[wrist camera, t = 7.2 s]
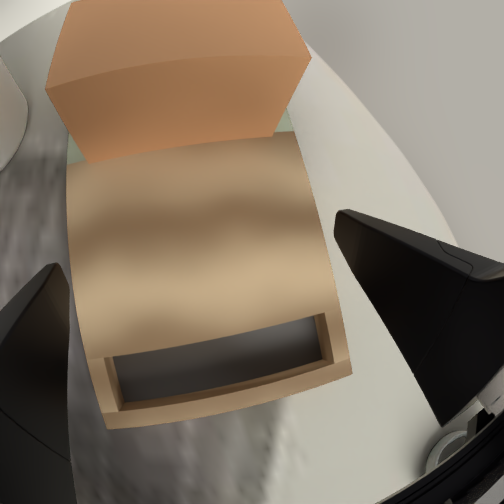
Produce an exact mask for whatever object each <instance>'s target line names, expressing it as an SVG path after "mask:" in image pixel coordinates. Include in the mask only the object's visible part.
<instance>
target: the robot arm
mask: <svg viewBox="0 0 504 504" xmlns="http://www.w3.org/2000/svg"><path fill="white" fill-rule="evenodd" d="M334 238H335V240H336V242H337V244H338V246H339V248H340V250H341V252H342V254H343V256H344V257H345V259H346V261H347V263H348V265H349V267H350V269H351V271H352V273H353V274H354V276H355V278H356V279H357V281H358V282H359V284H360V286H361V287H362V289H363V290H364V292H365V293H366V295H367V297H368V298H369V300H370V301H371V303H372V305H373V306H374V308H375V309H376V311H377V313H378V314H379V316H380V318H381V319H382V321H383V323H384V324H385V326H386V328H387V329H388V331H389V333H390V334H391V336H392V338H393V339H394V341H395V343H396V345H397V346H398V348H399V350H400V351H401V353H402V355H403V357H404V358H405V360H406V362H407V364H408V366H409V367H410V369H411V371H412V373H413V374H414V377H415V378H416V380H417V382H418V384H419V386H420V388H421V390H422V391H423V393H424V395H425V397H426V399H427V401H428V403H429V405H430V407H431V409H432V411H433V413H434V415H435V417H436V419H437V421H438V423H439V424H440V426H441V427H444V426H445V425H447V424H448V423H449V422H451V421H452V420H453V419H455V418H456V417H457V416H459V415H460V414H461V413H463V412H464V411H465V410H466V409H468V408H469V407H470V406H471V405H473V404H474V403H475V402H476V401H477V400H479V402H480V403H481V405H482V406H483V407H484V408H483V409H482V410H481V411H480V412H479V413H478V414H476V415H475V416H474V417H473V418H472V419H471V420H470V421H469V422H468V428H467V436H466V443H465V444H464V445H463V446H462V447H461V448H459V449H458V450H457V451H456V452H454V453H453V454H452V455H450V456H449V457H448V458H447V459H445V460H444V461H442V462H441V463H440V464H438V465H437V466H436V467H434V468H433V469H431V470H430V471H428V472H427V473H425V474H424V475H422V476H421V477H419V478H418V479H416V480H415V481H413V482H412V483H410V484H408V485H407V486H405V487H404V488H402V489H400V490H399V491H397V492H395V493H393V494H392V495H390V496H388V497H386V498H385V499H383V500H381V501H379V502H377V503H375V504H504V263H501V262H497V261H495V260H492V259H489V258H486V257H483V256H481V255H478V254H475V253H472V252H469V251H466V250H464V249H461V248H458V247H455V246H453V245H450V244H447V243H445V242H442V241H439V240H436V239H434V238H431V237H429V236H426V235H423V234H421V233H418V232H415V231H412V230H409V229H407V228H404V227H401V226H398V225H395V224H392V223H390V222H387V221H384V220H381V219H378V218H375V217H372V216H369V215H366V214H363V213H359V212H356V211H353V210H350V209H345V210H339V211H338V212H337V213H336V218H335V226H334ZM69 297H70V289H69V284H68V282H67V280H66V277H65V275H64V273H63V271H62V268H61V266H60V265H59V264H58V263H52V264H48V265H46V266H45V267H44V268H43V269H41V270H40V271H39V272H38V273H37V274H36V275H35V276H34V277H33V278H32V279H31V280H30V281H29V282H28V283H27V284H26V285H25V286H24V287H23V288H22V289H21V290H20V291H19V292H18V293H17V294H16V295H15V296H14V297H13V298H12V299H11V300H10V301H9V302H8V303H7V305H6V306H5V307H4V308H3V309H2V310H1V311H0V504H77V500H76V494H75V488H74V481H73V474H72V466H71V462H70V461H71V458H70V447H69V434H68V413H67V371H68V349H69V333H70V322H69Z"/></svg>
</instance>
